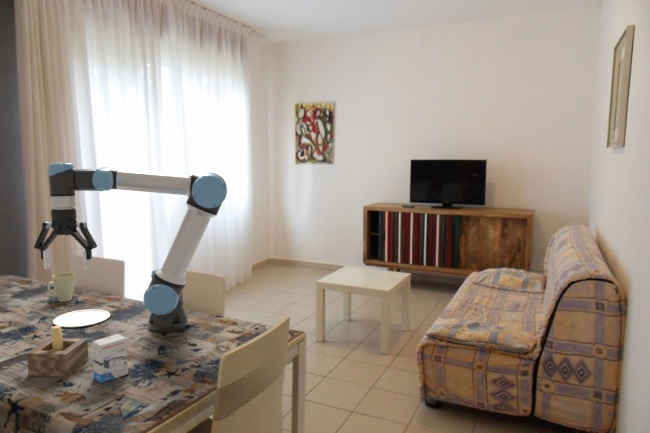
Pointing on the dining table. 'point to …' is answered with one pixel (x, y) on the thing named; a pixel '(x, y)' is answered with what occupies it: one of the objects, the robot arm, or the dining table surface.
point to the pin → (57, 338)
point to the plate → (81, 318)
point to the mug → (63, 286)
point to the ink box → (110, 358)
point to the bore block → (57, 358)
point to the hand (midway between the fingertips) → (67, 268)
